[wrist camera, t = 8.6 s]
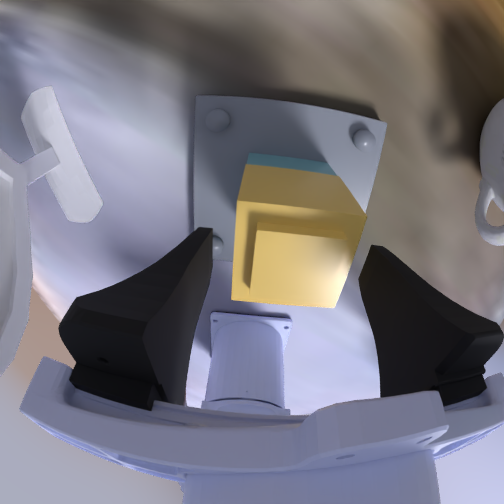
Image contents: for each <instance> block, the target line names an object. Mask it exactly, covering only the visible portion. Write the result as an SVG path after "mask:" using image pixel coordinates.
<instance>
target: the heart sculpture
mask: <svg viewBox="0 0 504 504" xmlns="http://www.w3.org/2000/svg"><path fill="white" fill-rule="evenodd" d="M21 120H22V123H23V126H24V128H25V131H26V134H27V136H28V139H29V141H30V144H31V146H32V149H33V151H34V153H35V156H33V157H31V158H30V159H28V160H26V161H24V162H22V163H21V164H19V163H18V162H16V161H15V160H13V159H12V158H11V157H10V156H8V155H7V154H6V153H5V152H4V151H3V150H1V149H0V377H1V375H2V374H3V373H4V371H5V370H6V369H7V367H8V366H9V365H10V363H11V362H12V361H13V360H14V357H15V354H16V351H17V349H18V346H19V343H20V340H21V338H22V335H23V333H24V330H25V328H26V325H27V323H28V320H29V306H30V295H31V287H32V279H33V271H32V257H31V232H30V223H29V214H28V201H27V186H29V185H30V184H32V183H33V182H35V181H36V180H38V179H39V178H41V177H42V176H44V175H45V177H46V179H47V181H48V184H49V186H50V188H51V189H52V191H53V193H54V195H55V197H56V199H57V201H58V203H59V205H60V207H61V208H62V210H63V212H64V214H65V216H66V217H67V219H68V221H71V222H77V223H87V222H91V221H92V220H93V219H94V218H95V217H96V215H97V214H98V212H99V211H100V209H101V207H102V205H103V201H102V199H101V197H100V195H99V193H98V191H97V189H96V187H95V185H94V183H93V181H92V180H91V177H90V175H89V173H88V171H87V169H86V167H85V165H84V163H83V161H82V159H81V157H80V154H79V152H78V150H77V148H76V146H75V143H74V141H73V139H72V136H71V134H70V132H69V129H68V127H67V125H66V122H65V120H64V117H63V115H62V112H61V109H60V107H59V104H58V101H57V99H56V96H55V93H54V90H53V87H52V86H47V87H43V88H40V89H37V90H36V91H34V92H32V93H31V95H30V96H29V98H28V100H27V102H26V104H25V106H24V109H23V111H22V114H21Z"/></svg>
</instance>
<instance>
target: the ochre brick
mask: <svg viewBox="0 0 504 504" xmlns="http://www.w3.org/2000/svg"><path fill="white" fill-rule="evenodd" d="M366 219H367V215H366V214H365V212H364V211H363V209H362V208H361V206H360V205H359V203H358V202H357V201H356V199H355V198H354V196H353V195H352V193H351V192H350V190H349V189H348V188H347V186H346V185H345V183H344V182H343V181H342V179H341V178H340V177H339V176H335V175H329V174H323V173H317V172H310V171H303V170H295V169H288V168H279V167H271V166H261V165H251V164H246V165H245V169H244V173H243V177H242V182H241V186H240V190H239V195H238V199H237V210H236V225H235V241H234V257H233V275H232V293H231V300H236V301H247V302H258V303H269V304H281V305H295V306H310V307H327V308H335V306H336V303H337V301H338V298H339V296H340V293H341V291H342V288H343V285H344V283H345V280H346V278H347V275H348V272H349V269H350V267H351V264H352V261H353V258H354V256H355V253H356V250H357V247H358V244H359V241H360V238H361V235H362V232H363V229H364V226H365V222H366Z"/></svg>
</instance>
